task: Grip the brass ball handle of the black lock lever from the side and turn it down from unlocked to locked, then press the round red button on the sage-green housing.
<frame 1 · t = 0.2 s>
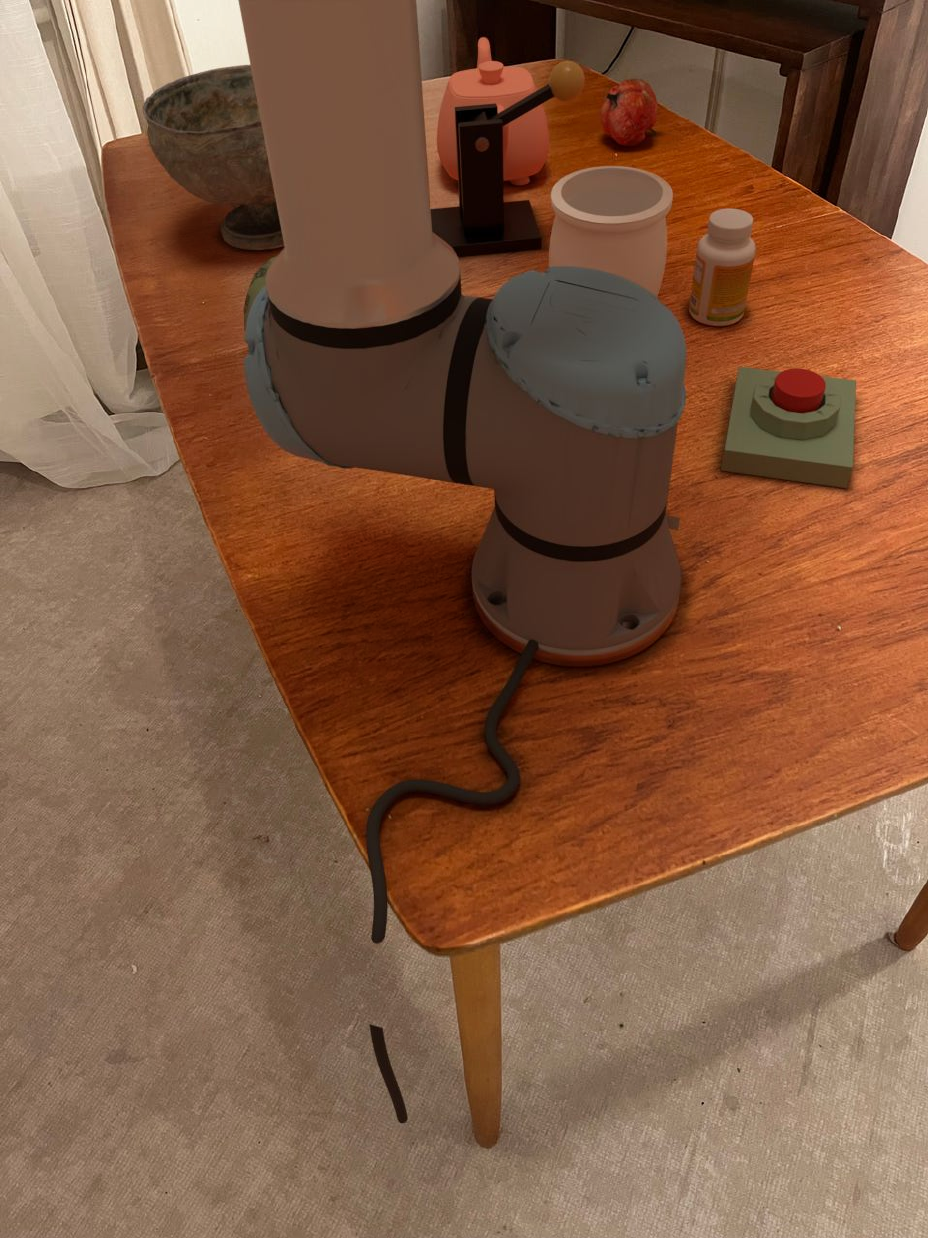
supplement bottle: (715, 314, 97), on the table
teapot: (492, 170, 121), on the table
button: (798, 390, 81), point 4 cm above the table, slide at 0.1 cm
button box: (787, 434, 84), on the table
jar: (600, 347, 94), on the table
lock bracket: (482, 234, 110), on the table
bowl: (263, 229, 113), on the table
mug: (317, 359, 95), on the table
lock lever: (523, 106, 100), point 13 cm above the table, hinge at 25.0°
pomegranate: (629, 141, 124), on the table
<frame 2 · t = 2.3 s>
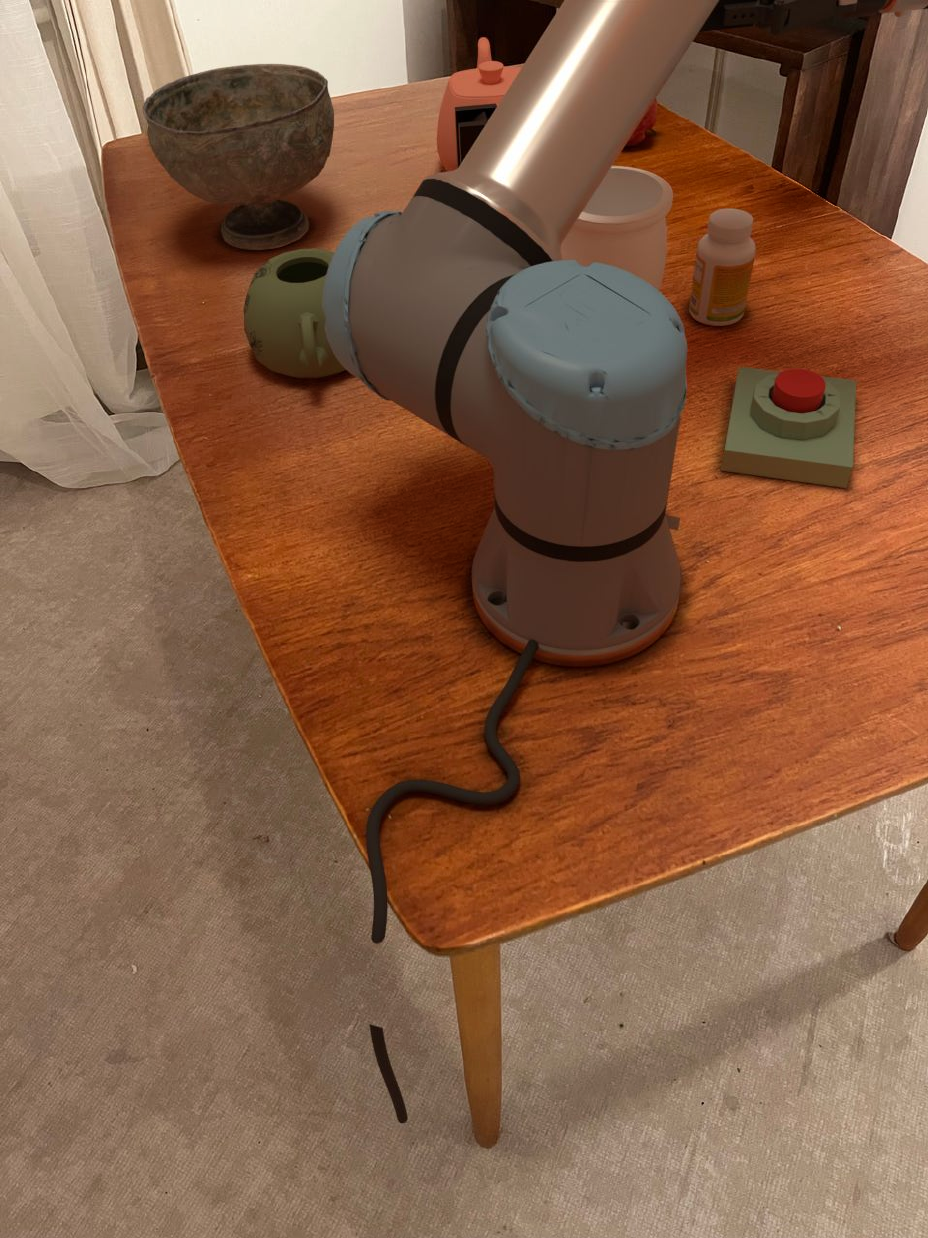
nothing on the table moved.
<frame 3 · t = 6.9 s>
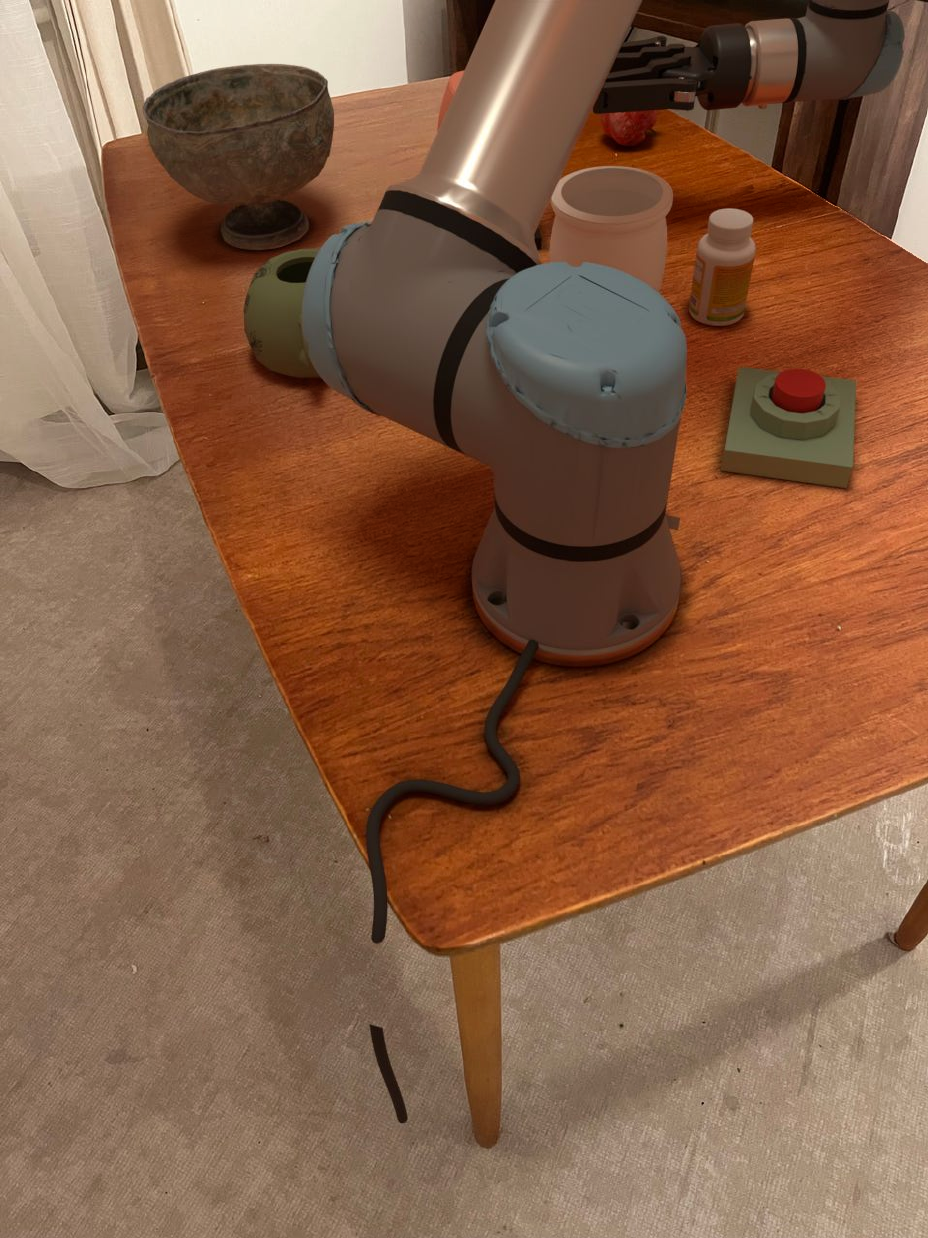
hand: (513, 86, 98), 15 cm above the table, tool horizontal, fingers closed on lock lever, 4 cm apart
lock lever: (523, 106, 100), point 13 cm above the table, hinge at 25.0°, touching gripper
everything else where it was.
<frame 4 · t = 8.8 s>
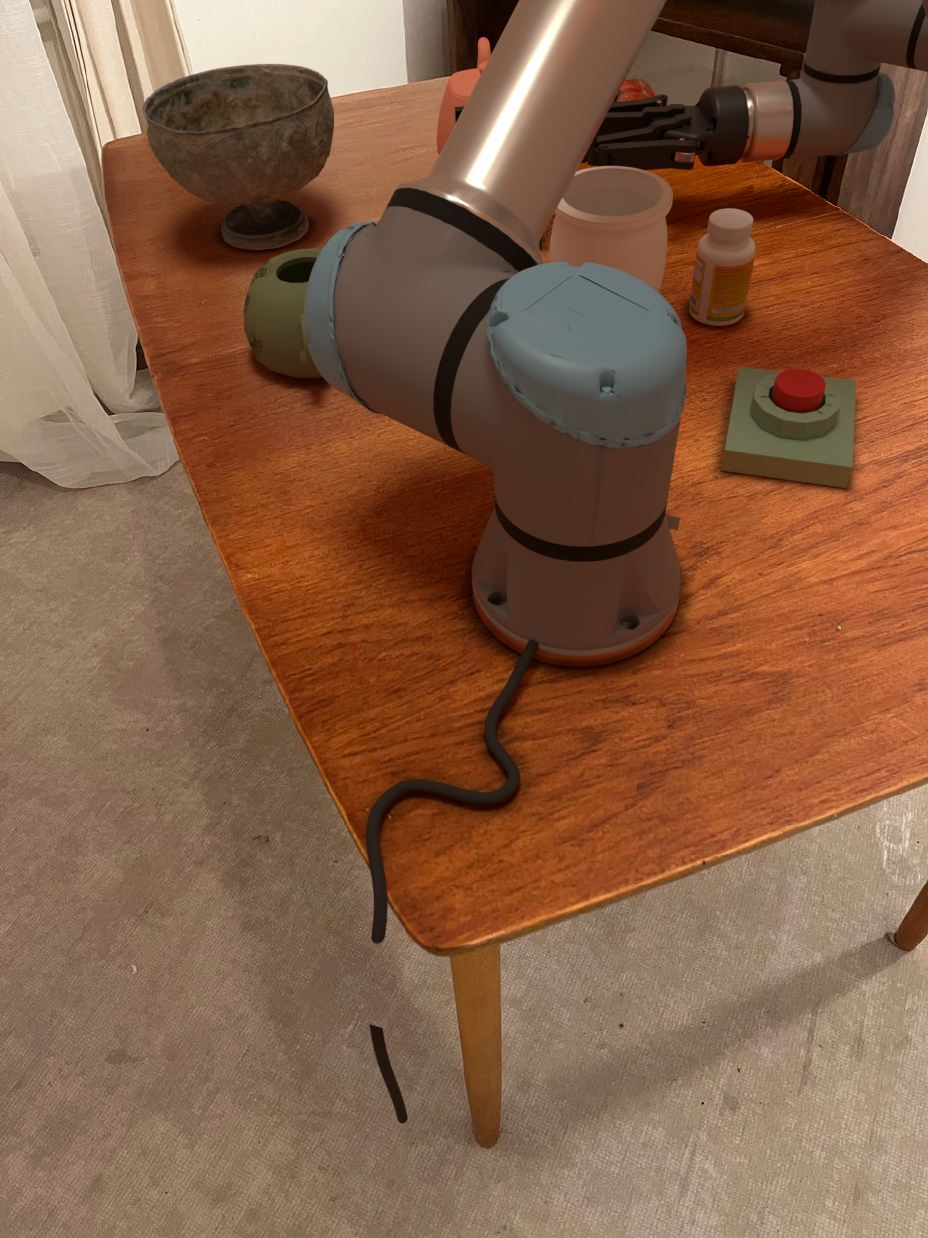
hand: (521, 144, 103), 9 cm above the table, tool horizontal, fingers closed on lock lever, 4 cm apart
lock lever: (528, 134, 102), point 10 cm above the table, hinge at -7.5°, touching gripper
everything else where it was.
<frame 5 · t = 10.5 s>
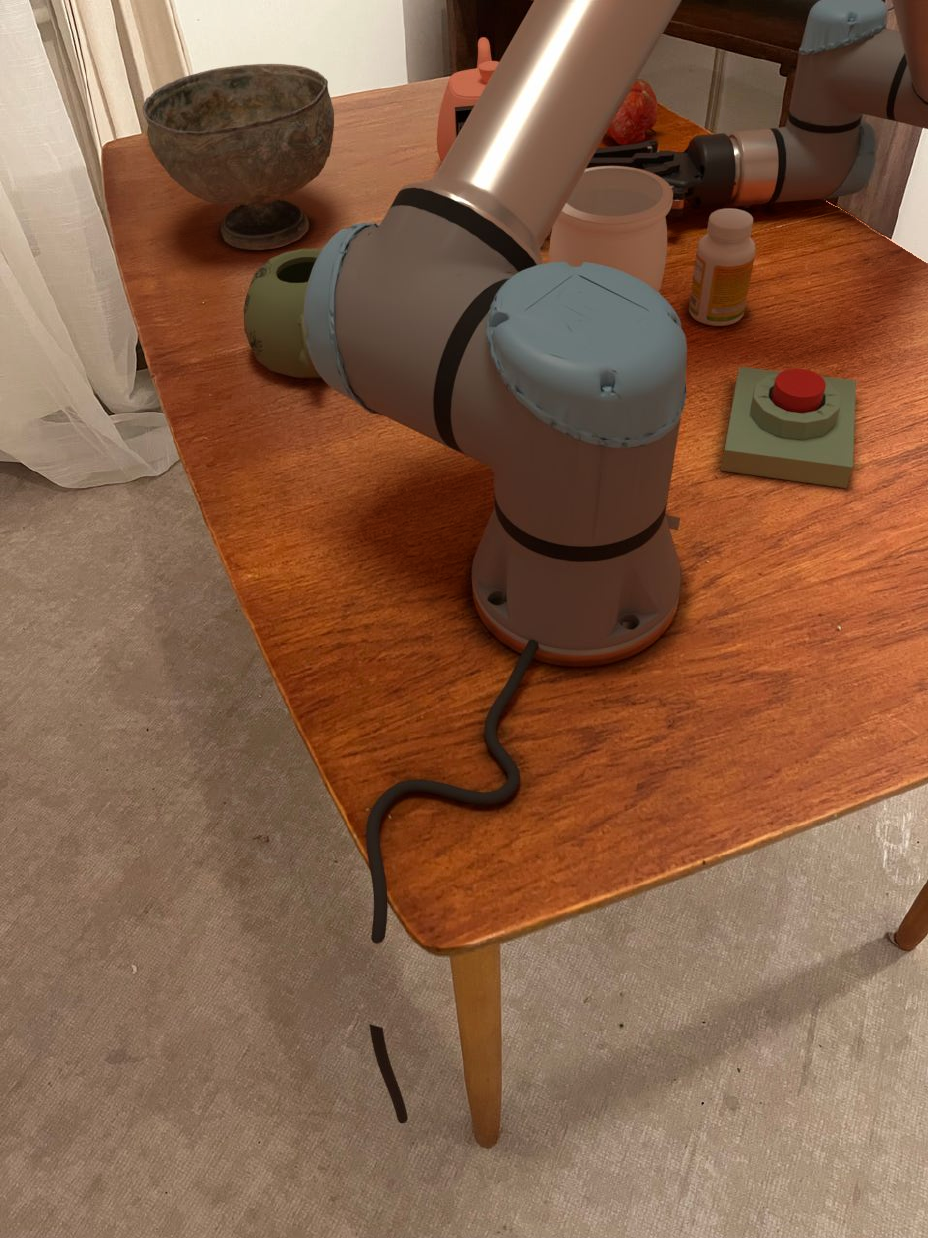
hand: (516, 190, 106), 5 cm above the table, tool horizontal, fingers open, 4 cm apart
lock lever: (521, 154, 104), point 8 cm above the table, hinge at -30.5°
everything else where it was.
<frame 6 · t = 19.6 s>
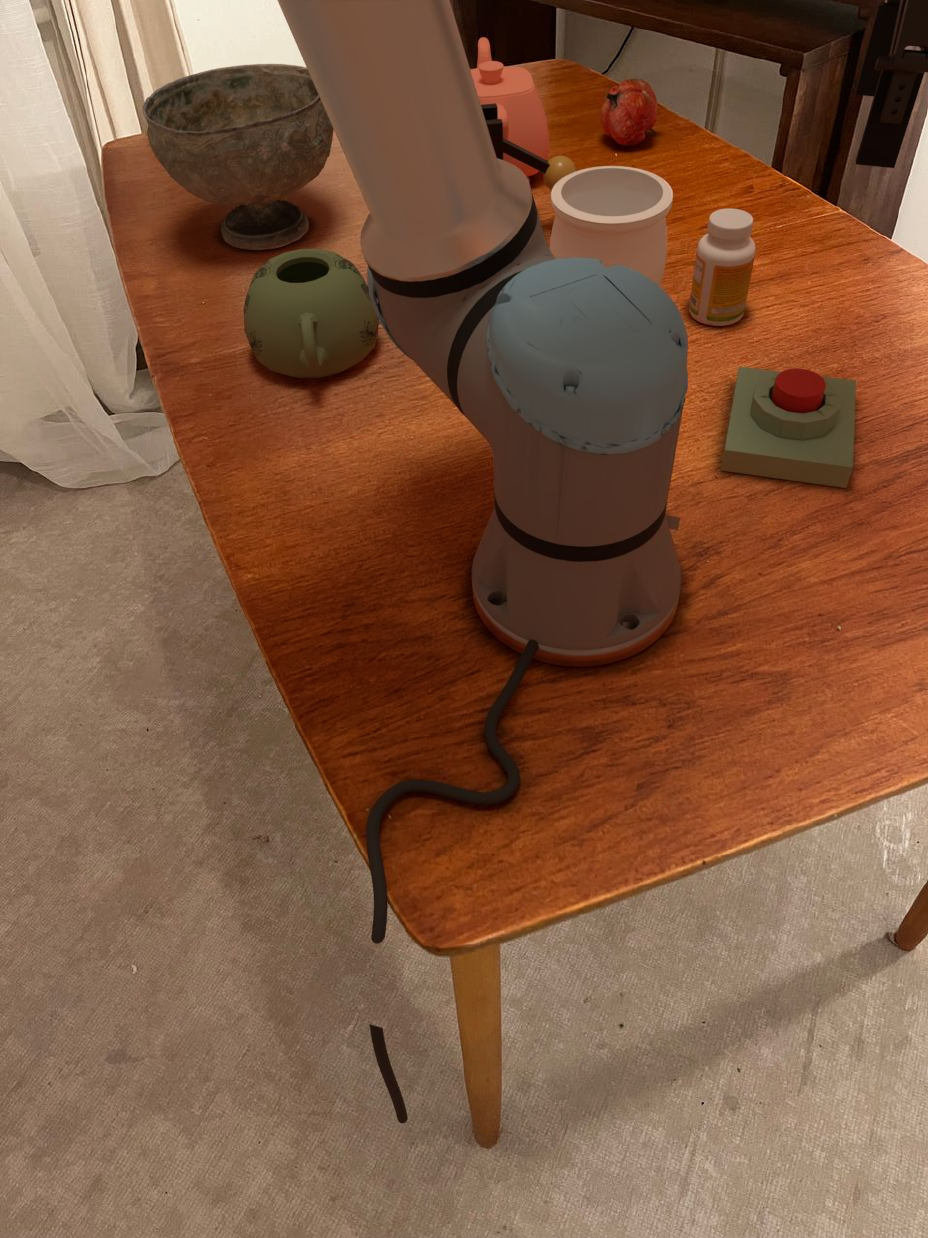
hand: (873, 127, 76), 20 cm above the table, tool pointing down, fingers open, 13 cm apart
nothing on the table moved.
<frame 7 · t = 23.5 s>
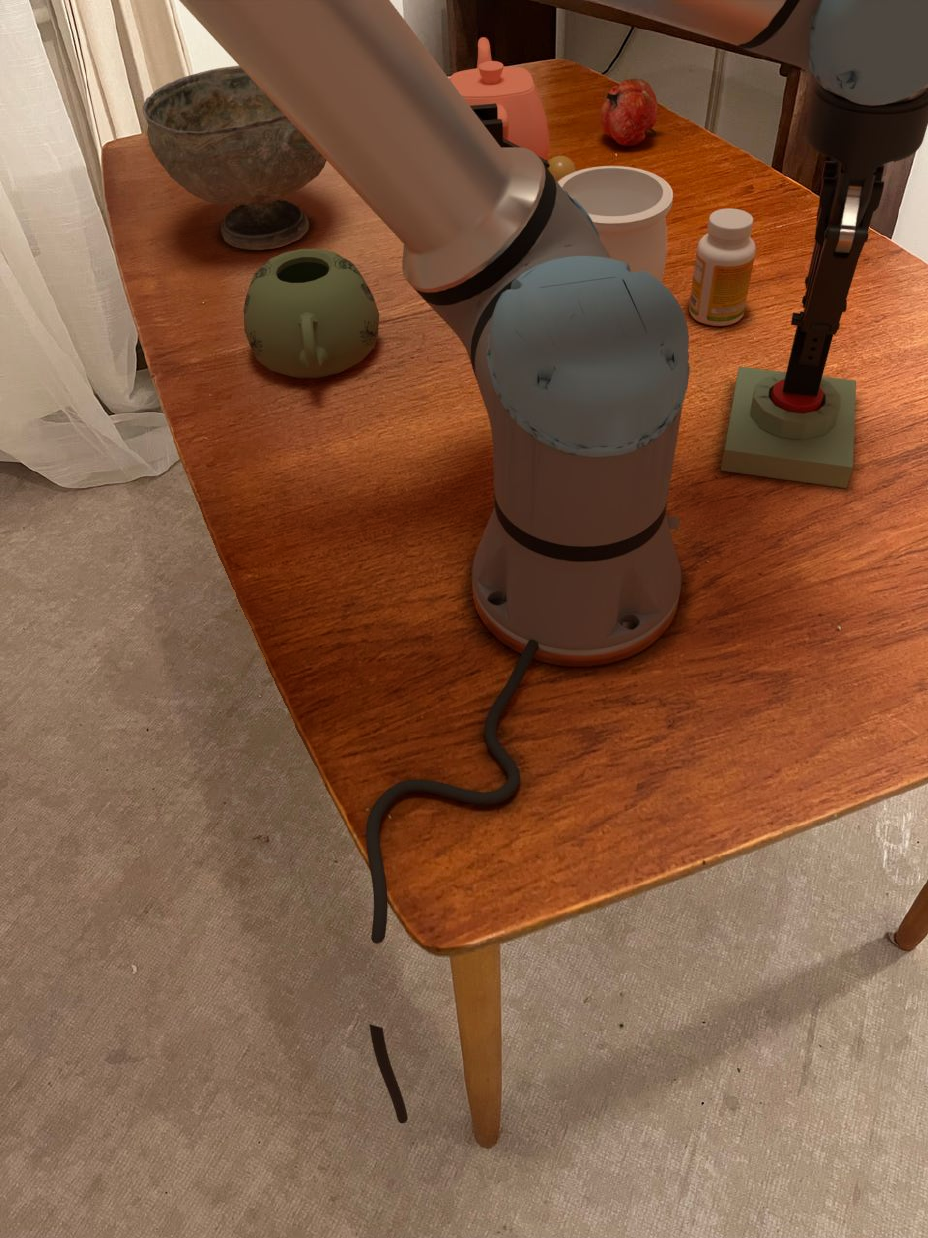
hand: (800, 388, 80), 5 cm above the table, tool pointing down, fingers closed
button: (796, 400, 81), point 4 cm above the table, slide at -0.8 cm, touching gripper
everything else where it was.
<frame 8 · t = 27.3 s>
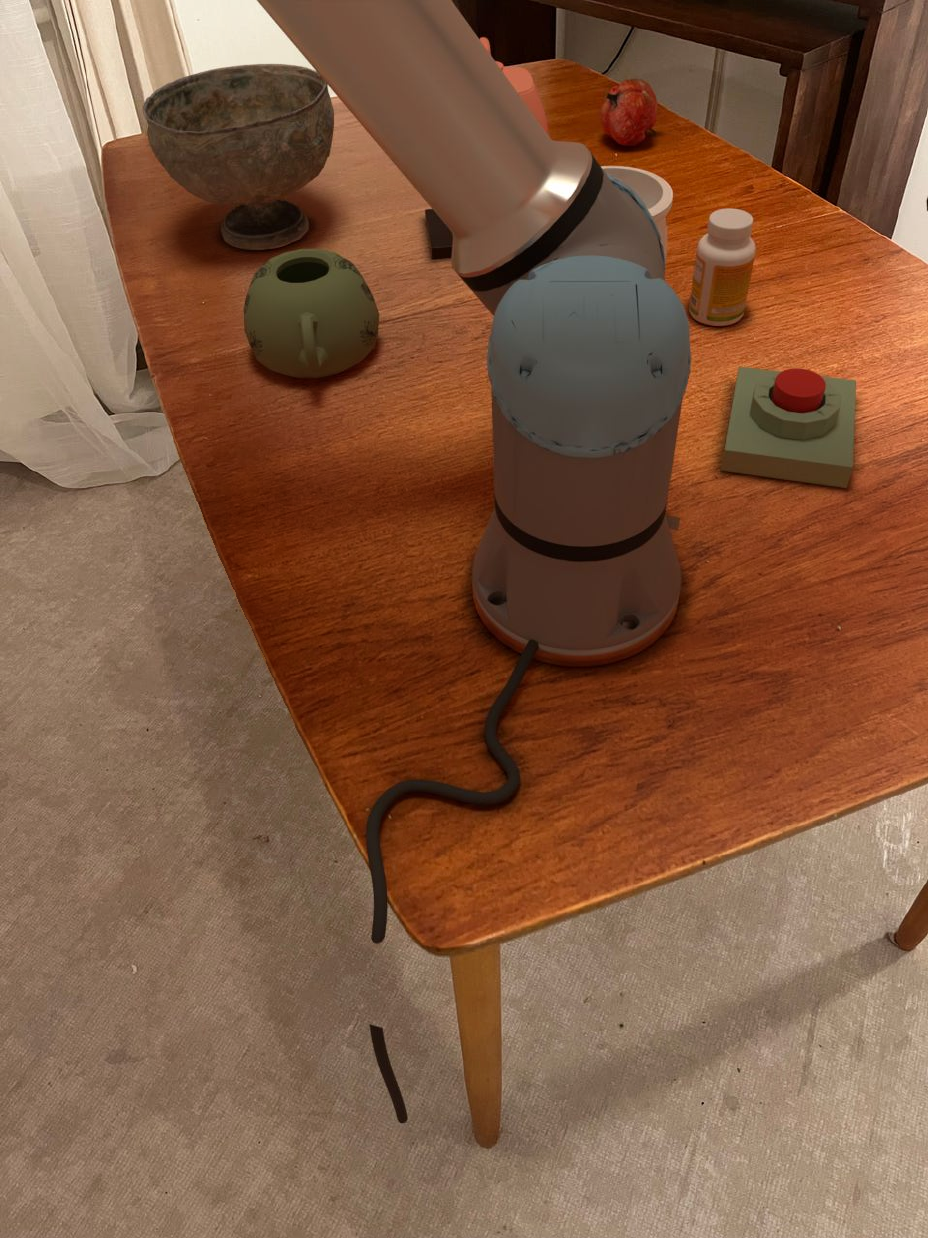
button: (798, 390, 81), point 4 cm above the table, slide at 0.1 cm
everything else where it was.
at the end: lock lever at -30° (first picture: +25°); button pushed in 1.0 cm at the most during the clip, back to where it started at the end; button slide at 0.1 cm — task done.
